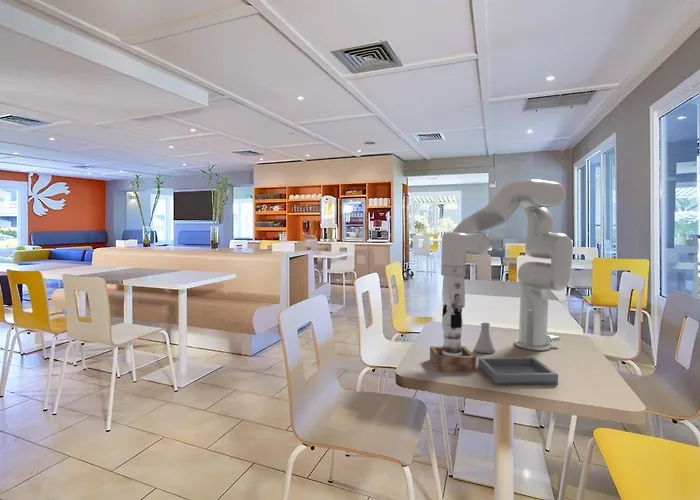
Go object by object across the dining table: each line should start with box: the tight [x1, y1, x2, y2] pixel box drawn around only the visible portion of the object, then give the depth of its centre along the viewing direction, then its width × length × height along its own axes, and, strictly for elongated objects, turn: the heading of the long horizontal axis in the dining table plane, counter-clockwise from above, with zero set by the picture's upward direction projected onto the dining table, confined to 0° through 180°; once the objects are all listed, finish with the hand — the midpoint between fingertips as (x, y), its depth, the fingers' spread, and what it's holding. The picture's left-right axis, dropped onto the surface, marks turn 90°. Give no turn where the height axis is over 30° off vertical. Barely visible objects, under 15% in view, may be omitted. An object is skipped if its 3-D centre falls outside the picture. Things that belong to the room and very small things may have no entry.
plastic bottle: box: [441, 306, 464, 356], centre depth 127 cm, size 6×7×20 cm
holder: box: [429, 345, 477, 373], centre depth 128 cm, size 12×11×4 cm
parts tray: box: [477, 356, 559, 386], centre depth 119 cm, size 18×14×3 cm
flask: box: [474, 322, 496, 354], centre depth 142 cm, size 7×7×10 cm
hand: (451, 323), depth 126 cm, fingers open, 9 cm apart
